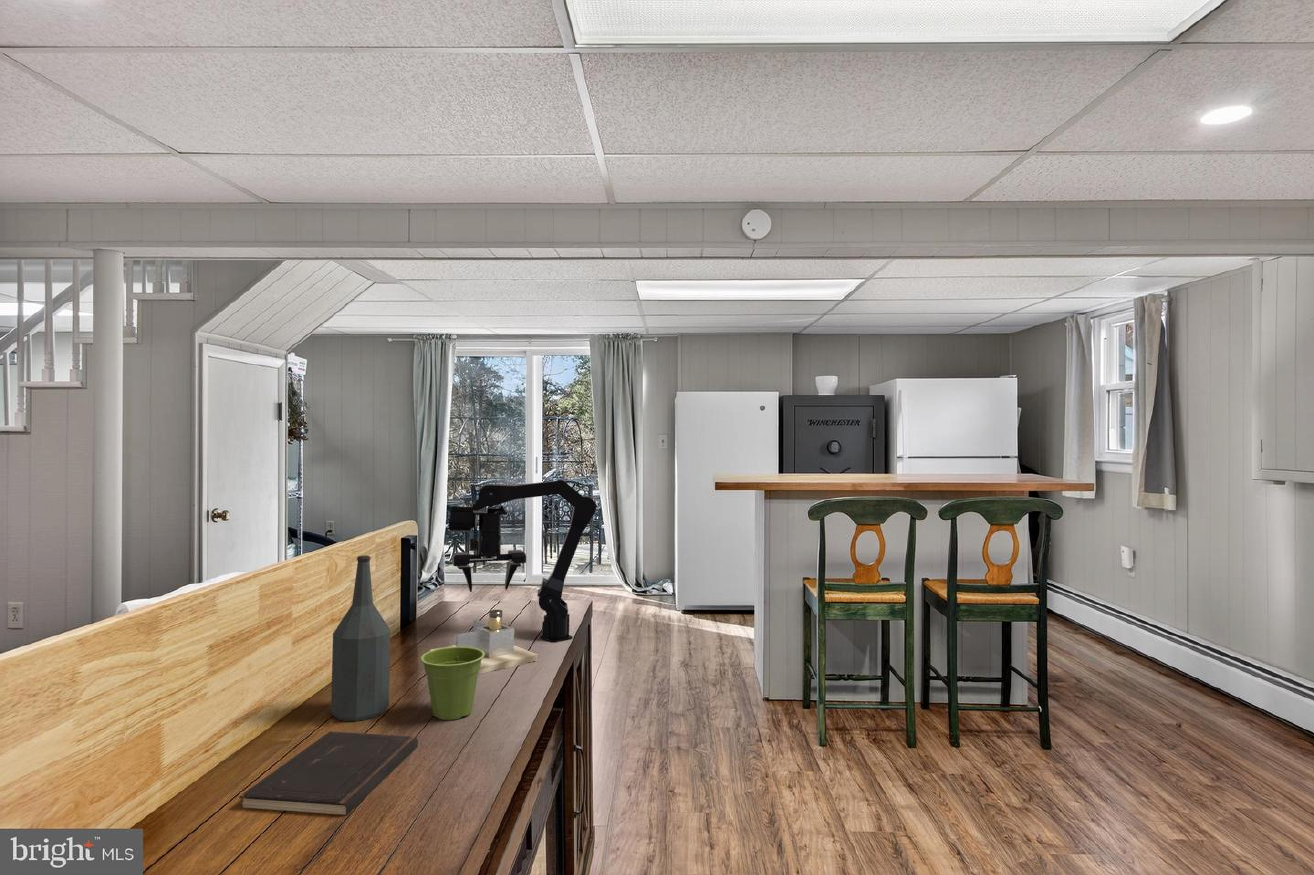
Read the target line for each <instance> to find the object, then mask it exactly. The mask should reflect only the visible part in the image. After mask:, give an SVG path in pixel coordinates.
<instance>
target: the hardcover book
mask: <svg viewBox="0 0 1314 875" xmlns="http://www.w3.org/2000/svg"><path fill="white" fill-rule="evenodd" d="M418 746H419V740H418V738H417V737H416V736H412V735H411V736H410V735H397V734H396V735H395V734H394V735H393V734H376V733H360V732H348V731H347V732H345V731H328V732H327V733H325V734H324V735H323V736H321V737H320V738H318V739H317V740H316V741H314V742H312V744H310V745H309V746H307V747H306V748H305V749H303V750H302V751H300V752H299V753H298V754H296V755H294V757H292V758H290V759H289V760H288V761H286V762H285V763H284V764H282V765H280V767H278V768H277V769H275V770H274V771H272V772H271V773H270V774H267V776H265V777H264V778H263V779H262V780H260V781H259V782H257V783H255V784H254V785H253V786H251V787H250V788H249V789H247V790H246V791H245V792H243V793H242V794H240V795H239V797H238V798H239V799H242V802H241V804H242V808H245V809H259V810H270V811H271V810H273V811H287V812H298V813H314V814H327V815H328V814H329V815H342V816H343V815H344V816H346V817H347V816H348V815H349V814H351V812H353V810H355V809H356V808H357V806H359V805H360V804H361V803H362V801H364V800H365V799H366V798H367V797H368V796H369V795H370V794H371V793H372V792H373V791H374V790H375V789H376V788H377V787H378V786H379V785H380V784H381V783H382V782H383V781H384V780H385V779H386V778H388V776H390V775H391V774H392V773H393V772H394V771H395V769H397V767H399V766H400V765H401V764H402V763H403V762H404V761H405V760H406V759H407V758H408V757H409V756H410V755H411V754H412V753H413V752H414V751H416V749H418Z"/></svg>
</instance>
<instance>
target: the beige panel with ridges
mask: <svg viewBox="0 0 1314 875" xmlns="http://www.w3.org/2000/svg"><path fill="white" fill-rule="evenodd" d="M455 642H456V643H455V644H453V645H447V646H443V647H437V648H432V649H429V651H432V650H436V649H440V648H446V647H473V648H477V649H480V650H482V651H484V653H485V656H484V657H483V658H482V660H481V665H480V669H479V671H478V675H482V674H486V673H491V672H496V671H499V669H500V670H504V669H503V668H505V669H509V668H513V667H517V666H521V664H522V665H525V664H524V663H527V664H529V663H528V662H531V663H534V662H533V661H536V662H538V654H537V653H534V652H532V651H529V650H527V649H525V648H522V647H519V646H517V645H515V628H514V627H512V626H509V625H507V624H503V623H502V629H501V630H495V631H490V630H489V623H486V622H483V621H482V620H478V619H473V631H471V630H470V631H467V632H462V633H456V641H455ZM429 651H428V652H429ZM495 670H496V671H495Z"/></svg>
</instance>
